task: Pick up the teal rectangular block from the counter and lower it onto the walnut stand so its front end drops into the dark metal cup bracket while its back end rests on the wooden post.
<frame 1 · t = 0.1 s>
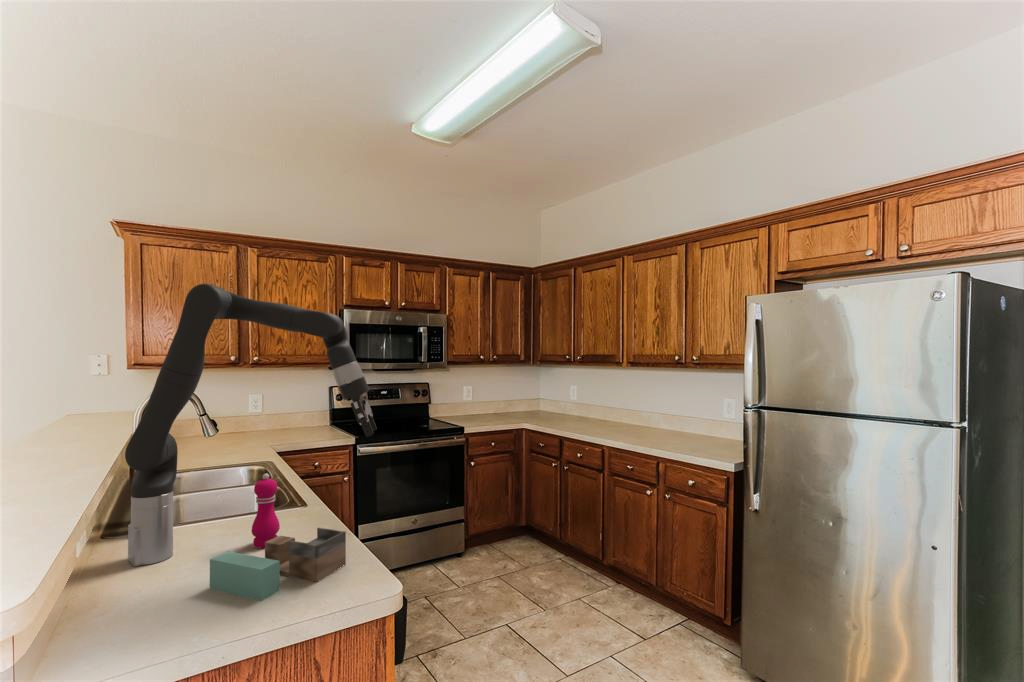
hand: (371, 433, 145), 31 cm above the worktop, tool tilted 20°, fingers open, 8 cm apart
pepper mill: (265, 544, 145), on the worktop
bracket stand: (296, 566, 130), on the worktop
teal rectangular block: (244, 590, 117), on the worktop
wine bottle: (147, 532, 155), on the worktop
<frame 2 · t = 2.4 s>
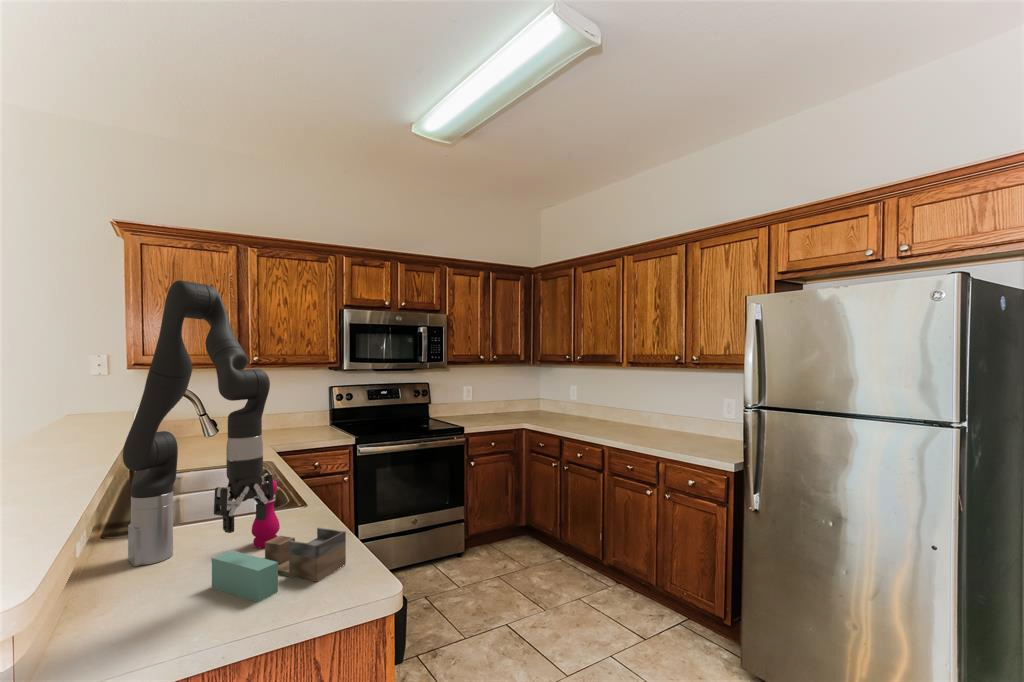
hand: (245, 525, 117), 15 cm above the worktop, tool pointing down, fingers open, 8 cm apart
nothing on the worktop moved.
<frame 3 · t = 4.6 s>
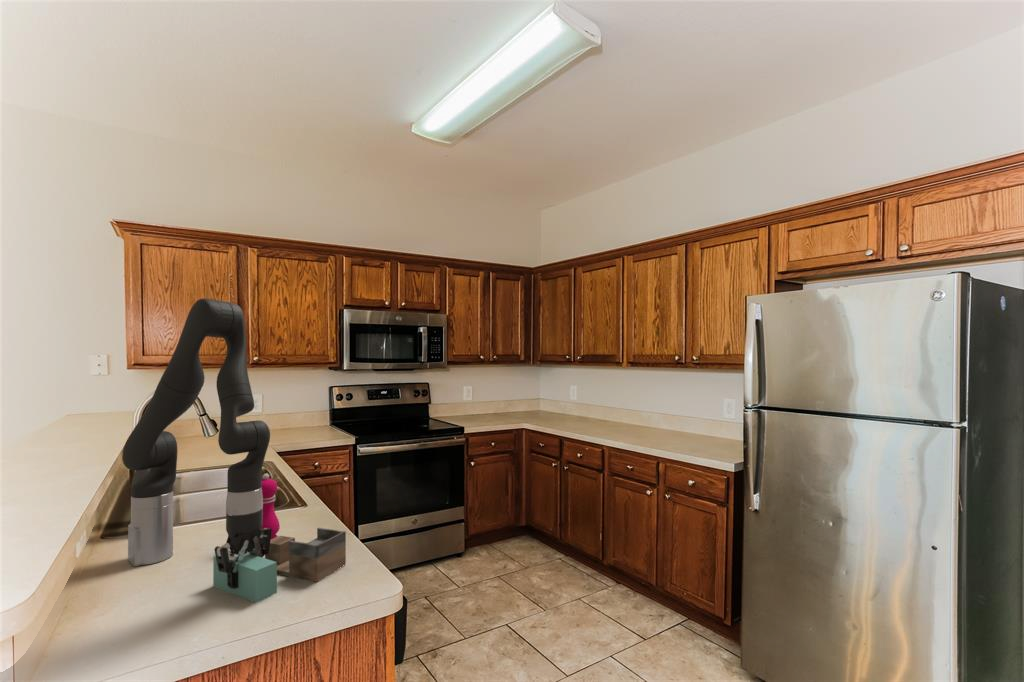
hand: (244, 581, 117), 2 cm above the worktop, tool pointing down, fingers closed on teal rectangular block, 5 cm apart
teal rectangular block: (244, 589, 117), on the worktop, touching gripper
everything else where it was.
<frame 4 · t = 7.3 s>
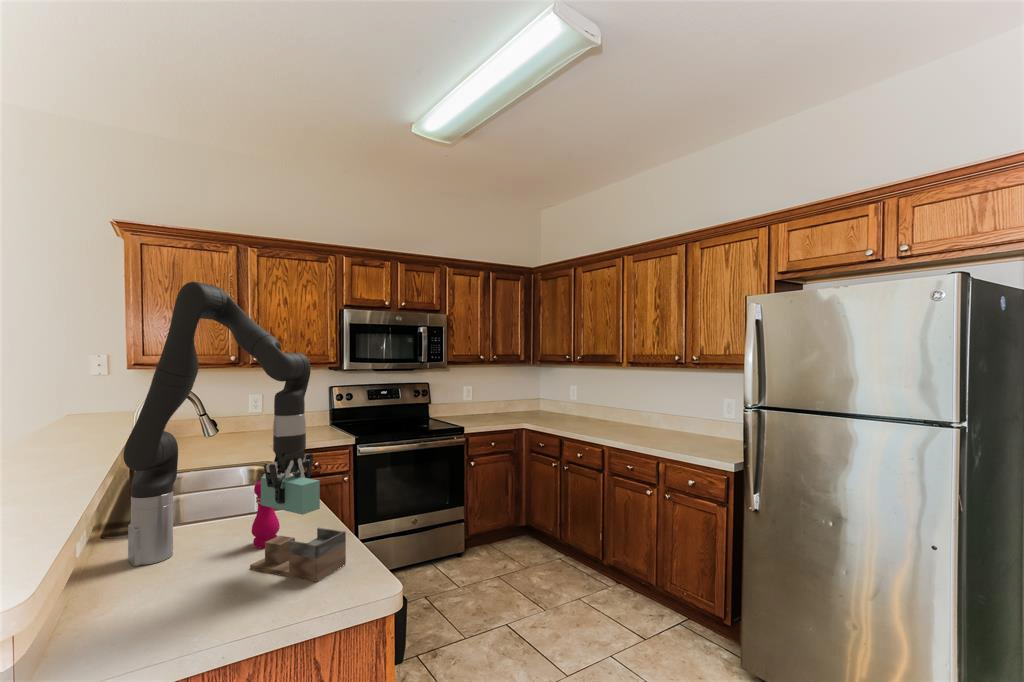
hand: (289, 499, 128), 18 cm above the worktop, tool pointing down, fingers closed on teal rectangular block, 5 cm apart
teal rectangular block: (289, 506, 128), point 16 cm above the worktop, touching gripper
everything else where it was.
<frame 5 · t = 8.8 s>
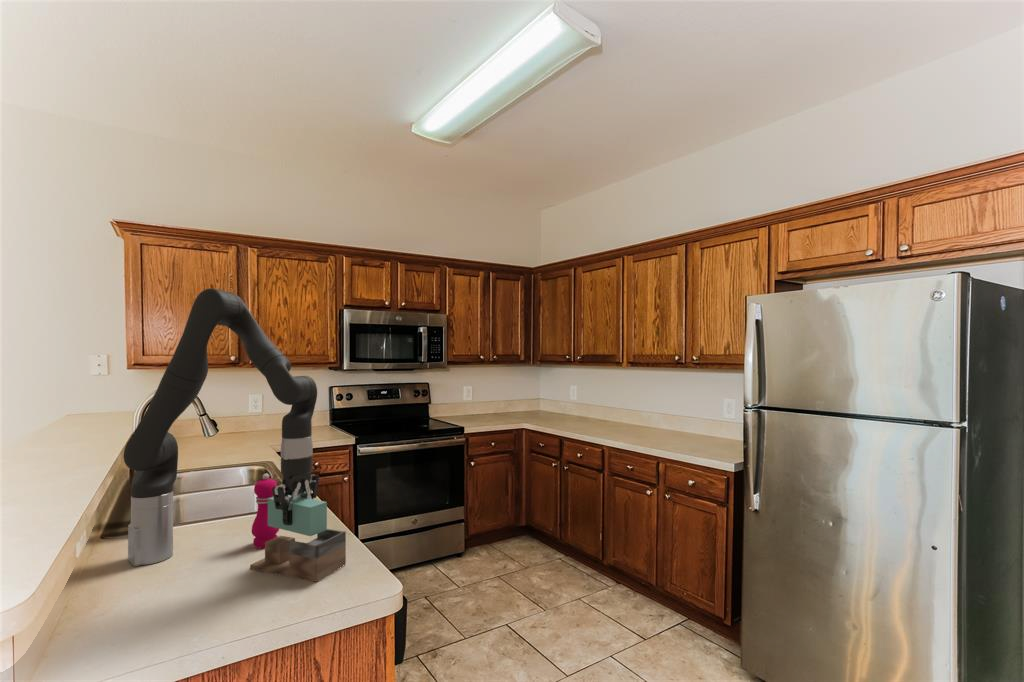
hand: (296, 520, 130), 12 cm above the worktop, tool pointing down, fingers closed on teal rectangular block, 5 cm apart
teal rectangular block: (296, 527, 130), point 10 cm above the worktop, touching gripper
everything else where it was.
when the fingers open (9 cm above the worktop, at t = 10.0 s): teal rectangular block stays where it is, resting on bracket stand.
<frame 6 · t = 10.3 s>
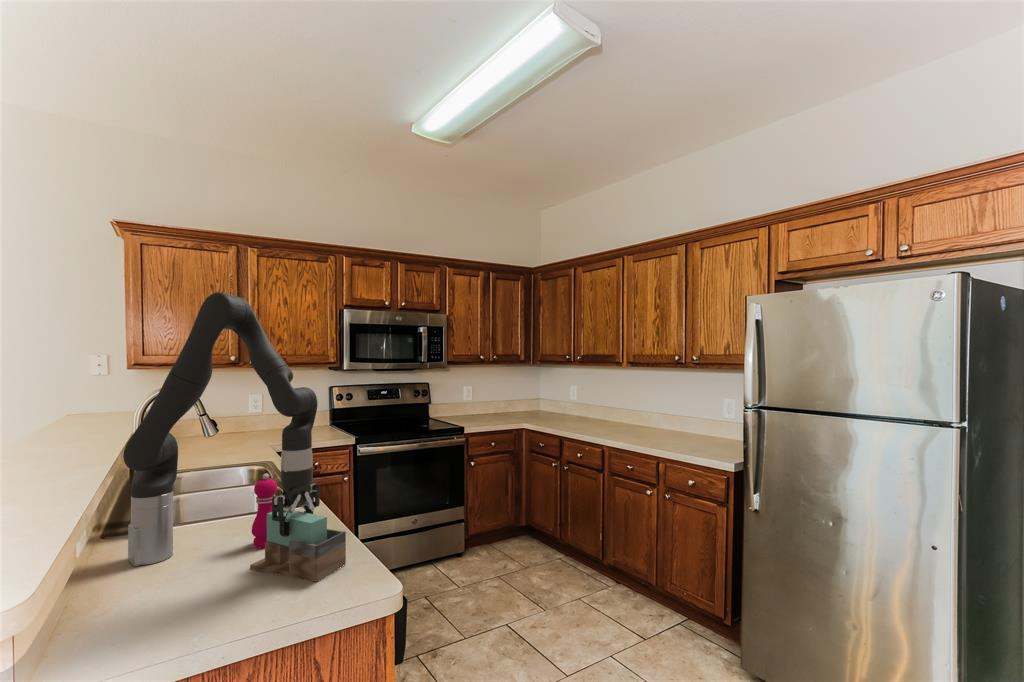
hand: (296, 530, 130), 9 cm above the worktop, tool pointing down, fingers open, 7 cm apart
teal rectangular block: (296, 542, 130), point 6 cm above the worktop, touching bracket stand
everything else where it was.
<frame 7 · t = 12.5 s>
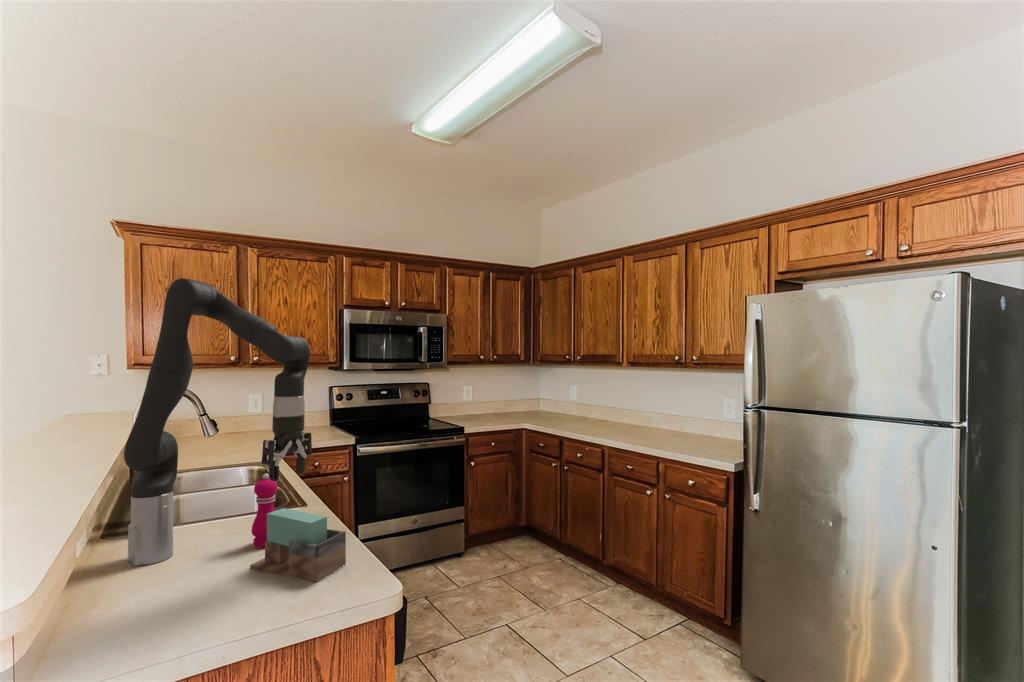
hand: (287, 476, 130), 23 cm above the worktop, tool pointing down, fingers open, 8 cm apart
nothing on the worktop moved.
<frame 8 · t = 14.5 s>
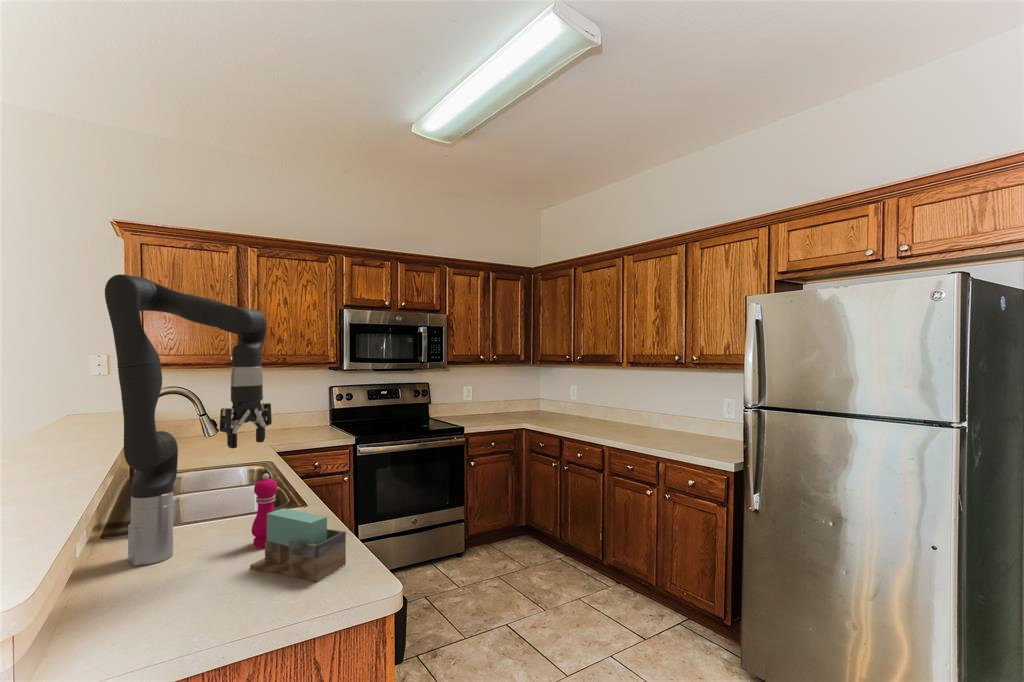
hand: (246, 445, 135), 30 cm above the worktop, tool pointing down, fingers open, 8 cm apart
nothing on the worktop moved.
at the end: teal rectangular block 0.0 cm off-centre on the bracket stand, point 6.0 cm above the bracket stand's base; teal rectangular block tilted 0°; the gripper is holding nothing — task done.
